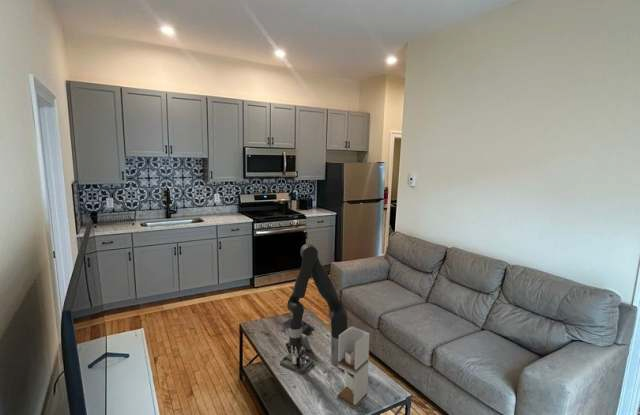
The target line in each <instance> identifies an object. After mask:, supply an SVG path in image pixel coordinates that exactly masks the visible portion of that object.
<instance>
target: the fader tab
mask: <svg viewBox="0 0 640 415" xmlns="http://www.w3.org/2000/svg"><path fill="white" fill-rule="evenodd" d="M296 357H297V356H296V352H295V353H294V354H293V355H292V363H293V364H295V365H296V364H297V358H296Z"/></svg>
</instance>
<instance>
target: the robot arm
mask: <svg viewBox="0 0 640 415" xmlns="http://www.w3.org/2000/svg"><path fill="white" fill-rule="evenodd" d="M299 254H300V256H301V258H302V259H301V266H300V269H299V270H300V271H299V272H298V275H297V276H296V279H295V282H294V285H293V290H292V292H291V295H290V297H289V299H288V301H287V304H286V307H287V310H289V311H290V312H291V313H292V315H291V316H290V317H289V319H290V320H289V319H288V320H289V332H288V341H287V342H286V343H285V347H286V350H287V352H288V354H290V353H291V355H293V354H294V353H295V352H296V356H297V357H296V358H297V363H298V362H299V361H300V358H301V357H302V356H303V354H304V355H305V353H306V351H307V349H306V348H303V347H302V320H303V316H304V313H305V307H304V304H302V303H301V302H300V299H303V298H304V297H305V296H306V293H307V292H306V291H307V288H308V283H309V280H310V277H311V278H312V280H313V282H314V284H315V287H316V289H317V291H318V293H319V295H320V296H321V297H322V298H323V299H324V301H325V302H326V303H327V305H328V308H329V311H330V313H331V319H330V320H331V321H330V322H331V323H330V324H331V325H330V327H331V328H330V329H331V331H330V362H331V364H332V365H334V366H337V367H338V339H339V335H340V334H341V333H343V332H344V331H345V330H347V329H348V323H349V322H348V321H349V320H348V313H347V310H346V308H345V307H344V304H343V303H342V302H341V300H340V299H339V296H338V293H337V291H336V290H337V289H336V288H335V286H334V284H333V282H332V279H331V277H330V276H329V274H328V273H327V271H326V269H325V268H324V267H323V265H322V264H321V261H320V259H319V257H318V255H319V252H318V248H316V247H315V246H314V245H313V244H310V243H305V244H303V245H302V246H301V248H300V251H299Z"/></svg>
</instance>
